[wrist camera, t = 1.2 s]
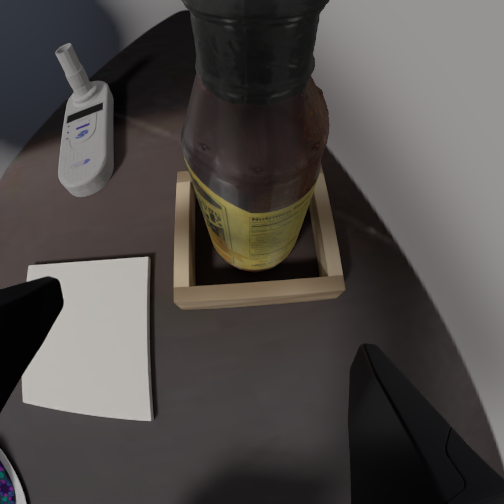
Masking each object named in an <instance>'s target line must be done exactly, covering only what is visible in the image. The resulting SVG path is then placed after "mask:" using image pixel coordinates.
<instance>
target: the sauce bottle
mask: <svg viewBox="0 0 504 504" xmlns="http://www.w3.org/2000/svg"><path fill="white" fill-rule="evenodd" d="M182 2H183V3H184V5H185V6H186V8H187V9H188V10H189V11H190V14H191V22H192V29H193V33H194V40H195V48H196V55H197V57H196V66H195V69H196V71H197V73H196V76H195V80H194V84H193V88H192V92H191V97H190V101H189V105H188V110H187V114H186V118H185V121H184V125H183V128H182V132H181V148H182V151H183V155H184V158H185V161H186V165H187V168H188V171H189V174H190V177H191V180H192V183H193V186H194V190H195V193H196V196H197V199H198V202H199V205H200V207H201V210H202V213H203V217H204V220H205V223H206V226H207V228H208V231H209V234H210V237H211V240H212V243H213V245H214V247H215V249H216V251H217V252H218V253H219V254H220V255H221V256H222V258H223V259H224V261H225V262H227V263H229V264H231V265H232V266H234V267H236V268H238V269H241V270H244V271H248V272H255V273H258V272H262V271H265V270H269V269H270V268H273V267H275V266H276V265H278V264H279V263H281V262H282V261H284V260H285V259H286V258H287V257H288V256H289V254H290V252H291V251H292V249H293V247H294V245H295V243H296V240H297V238H298V235H299V232H300V229H301V226H302V223H303V220H304V217H305V214H306V212H307V209H308V206H309V203H310V200H311V197H312V194H313V191H314V188H315V186H316V183H317V180H318V177H319V174H320V169H321V159H322V157H323V153H324V150H325V146H326V143H327V139H328V134H329V117H328V109H327V105H326V102H325V99H324V97H323V92H322V90H321V89H320V88H318V87H317V86H316V85H315V83H314V81H313V79H312V77H311V74H312V72H313V71H314V67H315V61H314V60H315V59H314V56H313V51H314V46H315V40H316V33H317V27H318V23H319V14H320V12H321V11H322V10H323V9H324V7H325V5H326V4H327V3H328V2H329V0H182Z"/></svg>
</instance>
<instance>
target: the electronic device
mask: <svg viewBox="0 0 504 504" xmlns="http://www.w3.org/2000/svg"><path fill="white" fill-rule="evenodd" d="M55 53H56V55H57V57H58V59H59V62H60V63H61V65H62V67H63V69H64V71H65V76H66V78H67V80H68V81H69V83H70V85H71V87H72V89H73V91H74V92H73V94H72V95H71V97H70V98H69V100H68V103H67V106H66V112H65V119H64V125H63V132H62V140H61V148H60V158H59V169H58V175H59V180H60V182H61V183H62V184H63V185H64V187H65V188H66V189H67V190H68V191H69V192H70V193H71V194H72V195H74V196H77V197H85V196H89V195H91V194H94V193H96V192H98V191H99V190H100V189H102V188H103V187H104V186H105V185H106V184H107V182H108V181H109V179H110V178H111V176H112V173H113V170H114V148H113V105H114V99H113V96H112V93H111V91H110V89H109V86H108V84H106V83H105V82H102V81H94V82H89V79H88V77H87V75H86V73H85V70H84V68H83V66H82V65H81V64H80V63H79V60H78V58H77V56H76V54H75V52H74V49H73V47H72V45H71V44H70V43H68V44H65V45H63V46H61V47H60V48H59V49H58V50H57V51H56V52H55Z"/></svg>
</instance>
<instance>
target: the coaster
mask: <svg viewBox="0 0 504 504" xmlns="http://www.w3.org/2000/svg"><path fill="white" fill-rule="evenodd" d="M150 266H151V259H150V258H149V257H137V258H123V259H109V260H96V261H82V262H69V263H56V264H42V265H29V267H28V274H27V282H28V281H32V280H35V279H39V278H42V277H46V276H51V277H54V278H57V279H58V280H59V281H60V284H61V289H62V294H63V299H64V305H63V308H62V310H61V312H60V314H59V316H58V317H57V319H56V321H55V323H54V324H53V326H52V328H51V330H50V332H49V333H48V335H47V337H46V339H45V341H44V342H43V344H42V346H41V347H40V349H39V350H38V352H37V353H36V355H35V356H34V358H33V359H32V361H31V363H30V364H29V366H28V367H27V369H26V370H25V372H24V374H23V375H22V393H23V402H24V403H28V404H32V405H37V406H42V407H46V408H51V409H56V410H62V411H68V412H73V413H80V414H86V415H93V416H101V417H110V418H119V419H129V420H142V421H153V420H154V415H153V402H152V386H151V364H150Z"/></svg>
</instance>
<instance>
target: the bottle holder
mask: <svg viewBox="0 0 504 504" xmlns="http://www.w3.org/2000/svg"><path fill="white" fill-rule="evenodd" d="M195 198H197V196H196V193H195V190H194V186H193V183H192V180H191V177H190V174H189V171H182V172H178V173H177V189H176V210H175V238H174V303H175V304H176V305H177V306H179V307H180V308H181V309H182V310H191V309H210V308H227V307H243V306H257V305H270V304H282V303H294V302H305V301H315V300H325V299H335V298H337V297H338V296H339V295H340V294H341V293H342V292H343V291H345V284H344V278H343V272H342V265H341V260H340V254H339V248H338V243H337V237H336V232H335V226H334V221H333V216H332V211H331V206H330V202H329V197H328V192H327V188H326V183H325V179H324V174H323V170H322V165H321V169H320V174H319V177H318V180H317V183H316V186H315V188H314V191H313V194H312V197H311V200H310V203H309V211H310V217H311V223H312V229H313V235H314V241H315V248H316V254H317V261H318V268H319V275H320V277H315V278H303V279H291V280H278V281H265V282H252V283H237V284H222V285H207V286H196V279H195Z"/></svg>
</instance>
